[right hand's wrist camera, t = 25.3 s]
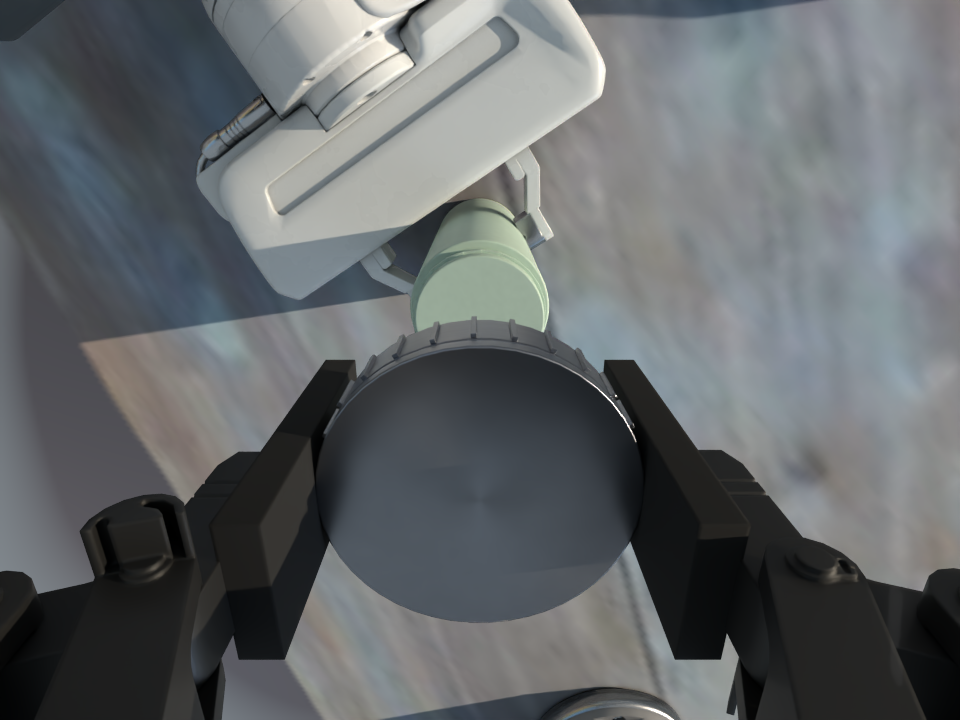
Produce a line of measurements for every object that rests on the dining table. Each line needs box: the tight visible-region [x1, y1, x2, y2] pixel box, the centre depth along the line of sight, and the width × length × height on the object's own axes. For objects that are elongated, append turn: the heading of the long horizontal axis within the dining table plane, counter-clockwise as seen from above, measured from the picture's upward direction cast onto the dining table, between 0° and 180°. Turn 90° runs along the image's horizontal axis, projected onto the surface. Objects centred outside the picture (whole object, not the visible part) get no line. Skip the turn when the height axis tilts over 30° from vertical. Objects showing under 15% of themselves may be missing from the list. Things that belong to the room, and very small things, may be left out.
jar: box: [410, 198, 549, 333], centre depth 28 cm, size 6×6×17 cm
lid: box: [315, 316, 644, 623], centre depth 11 cm, size 7×7×2 cm
